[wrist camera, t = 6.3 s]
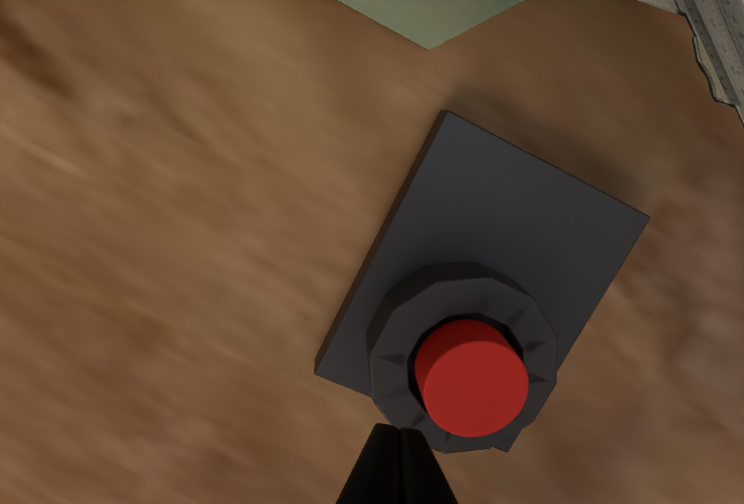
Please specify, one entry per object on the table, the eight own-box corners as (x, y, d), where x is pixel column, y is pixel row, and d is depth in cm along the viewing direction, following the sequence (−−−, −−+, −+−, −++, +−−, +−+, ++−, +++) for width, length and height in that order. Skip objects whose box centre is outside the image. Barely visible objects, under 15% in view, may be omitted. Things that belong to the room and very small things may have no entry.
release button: (481, 421, 19) (496, 452, 17) (397, 386, 18) (404, 415, 17) (527, 341, 18) (548, 365, 16) (443, 302, 18) (455, 323, 16)
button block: (497, 436, 22) (523, 486, 19) (313, 360, 21) (311, 402, 18) (632, 211, 20) (684, 228, 17) (440, 109, 19) (461, 110, 16)
